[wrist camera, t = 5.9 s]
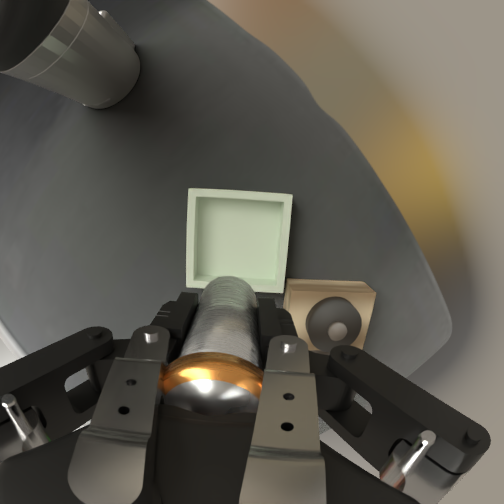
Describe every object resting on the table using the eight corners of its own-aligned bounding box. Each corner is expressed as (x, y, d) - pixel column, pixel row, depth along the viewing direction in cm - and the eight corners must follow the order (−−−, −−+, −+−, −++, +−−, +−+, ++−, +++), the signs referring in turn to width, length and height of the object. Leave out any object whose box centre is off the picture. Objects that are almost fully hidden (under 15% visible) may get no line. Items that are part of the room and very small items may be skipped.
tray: (193, 188, 30) (188, 188, 28) (288, 194, 31) (292, 194, 28) (190, 278, 33) (186, 286, 30) (280, 284, 33) (283, 293, 30)
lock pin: (196, 267, 14) (143, 361, 6) (264, 272, 14) (285, 373, 6) (195, 327, 15) (160, 443, 7) (259, 332, 15) (269, 453, 7)
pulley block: (286, 278, 33) (296, 301, 26) (363, 281, 33) (386, 302, 27) (274, 369, 36) (279, 402, 29) (342, 368, 36) (357, 398, 30)
